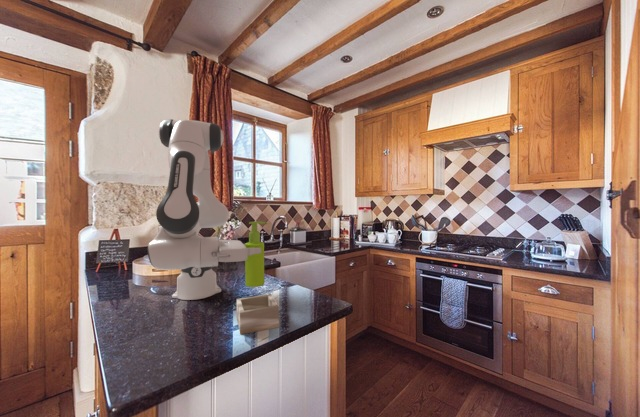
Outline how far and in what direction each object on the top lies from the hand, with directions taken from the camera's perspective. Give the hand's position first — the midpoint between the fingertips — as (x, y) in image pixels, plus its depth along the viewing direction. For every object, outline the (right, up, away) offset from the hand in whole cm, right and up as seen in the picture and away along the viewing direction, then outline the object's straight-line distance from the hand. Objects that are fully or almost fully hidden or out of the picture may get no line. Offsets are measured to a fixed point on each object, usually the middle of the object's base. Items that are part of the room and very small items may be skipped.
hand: (258, 248), depth 83 cm
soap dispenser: (-1, -12, -1) cm, 12 cm away
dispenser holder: (-1, -24, 0) cm, 24 cm away
